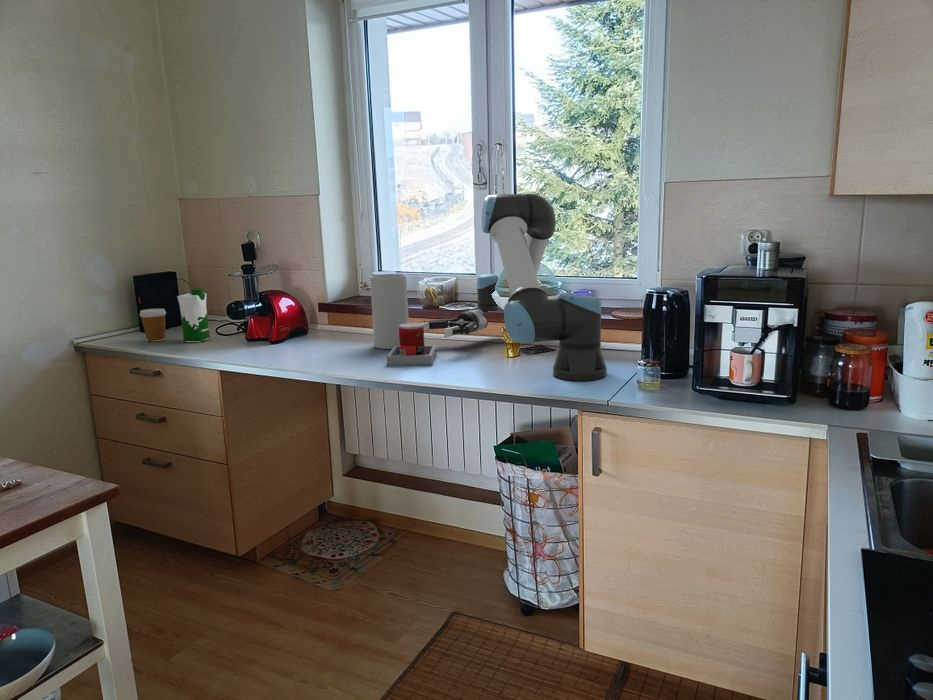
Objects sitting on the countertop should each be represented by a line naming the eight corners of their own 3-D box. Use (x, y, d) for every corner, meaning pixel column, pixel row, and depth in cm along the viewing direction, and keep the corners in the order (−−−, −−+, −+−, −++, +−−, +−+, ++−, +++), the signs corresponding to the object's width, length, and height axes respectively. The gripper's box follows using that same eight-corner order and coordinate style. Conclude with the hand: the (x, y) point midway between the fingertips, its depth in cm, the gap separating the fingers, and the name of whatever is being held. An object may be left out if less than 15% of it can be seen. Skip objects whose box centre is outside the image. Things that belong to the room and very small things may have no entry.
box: (431, 365, 215) (431, 355, 214) (387, 366, 216) (386, 356, 215) (436, 354, 231) (435, 345, 230) (394, 354, 231) (394, 346, 231)
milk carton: (202, 343, 261) (196, 290, 256) (179, 343, 262) (173, 290, 258) (213, 338, 269) (208, 287, 265) (191, 338, 270) (186, 287, 266)
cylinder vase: (404, 350, 238) (401, 277, 233) (369, 350, 240) (365, 278, 235) (413, 342, 250) (410, 273, 245) (380, 342, 252) (376, 274, 247)
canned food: (421, 361, 219) (420, 327, 216) (397, 360, 220) (395, 326, 218) (427, 355, 226) (426, 322, 224) (404, 355, 227) (402, 322, 225)
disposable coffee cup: (163, 342, 264) (159, 311, 261) (138, 343, 264) (134, 312, 261) (173, 338, 273) (170, 307, 270) (149, 338, 273) (146, 308, 271)
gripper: (499, 335, 236) (458, 346, 221) (445, 328, 252) (403, 338, 236) (498, 314, 235) (457, 323, 219) (444, 308, 251) (402, 316, 235)
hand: (429, 331), depth 228 cm, fingers open, 13 cm apart
